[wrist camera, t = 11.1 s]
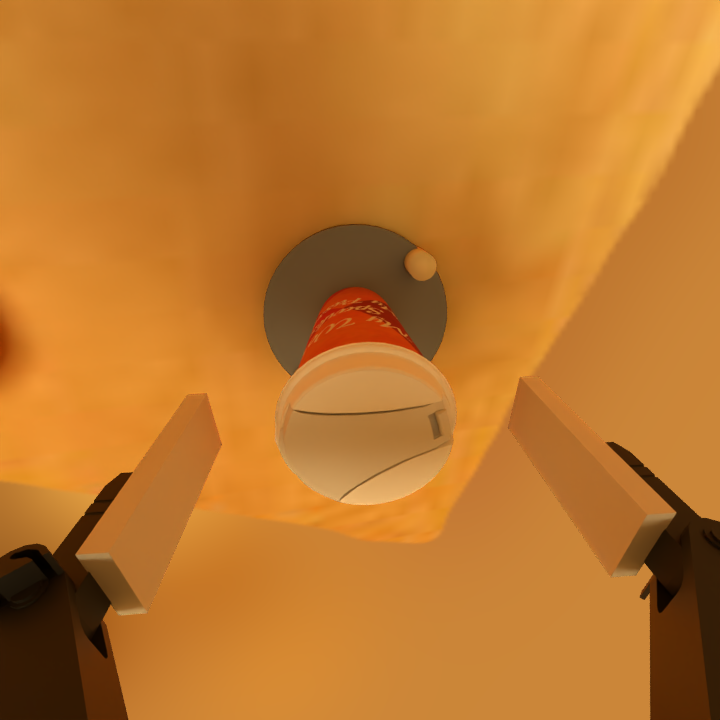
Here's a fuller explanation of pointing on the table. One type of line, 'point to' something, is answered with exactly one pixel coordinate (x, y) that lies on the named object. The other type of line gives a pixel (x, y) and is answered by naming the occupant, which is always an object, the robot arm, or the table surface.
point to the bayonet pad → (353, 269)
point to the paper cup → (364, 406)
